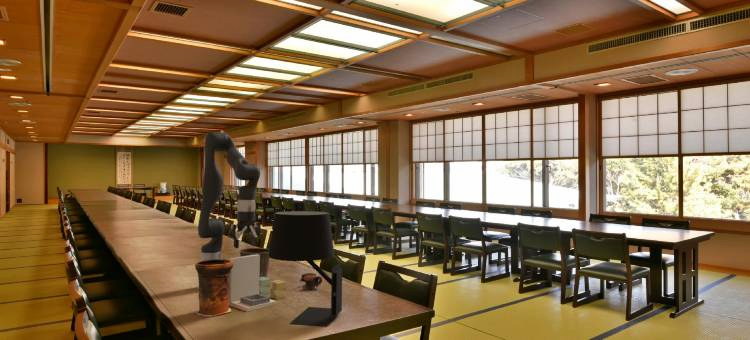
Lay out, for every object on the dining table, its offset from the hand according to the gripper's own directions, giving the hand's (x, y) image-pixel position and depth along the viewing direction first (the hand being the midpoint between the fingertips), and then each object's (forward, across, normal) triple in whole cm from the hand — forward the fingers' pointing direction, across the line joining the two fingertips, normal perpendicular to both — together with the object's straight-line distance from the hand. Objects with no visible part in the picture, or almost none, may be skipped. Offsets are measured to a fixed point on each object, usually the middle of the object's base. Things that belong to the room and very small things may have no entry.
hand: (245, 247), depth 195 cm
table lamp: (+22, -3, +36) cm, 42 cm away
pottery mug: (+24, -35, +5) cm, 43 cm away
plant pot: (+24, -25, -26) cm, 43 cm away
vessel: (+23, +18, +6) cm, 30 cm away
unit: (+23, +2, +9) cm, 25 cm away
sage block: (+23, -13, -3) cm, 27 cm away
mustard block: (+23, -14, +7) cm, 28 cm away
